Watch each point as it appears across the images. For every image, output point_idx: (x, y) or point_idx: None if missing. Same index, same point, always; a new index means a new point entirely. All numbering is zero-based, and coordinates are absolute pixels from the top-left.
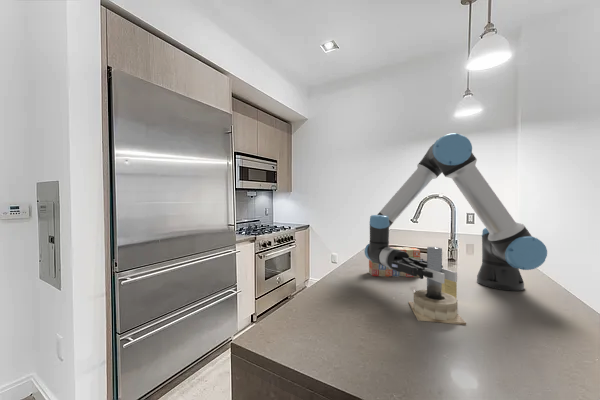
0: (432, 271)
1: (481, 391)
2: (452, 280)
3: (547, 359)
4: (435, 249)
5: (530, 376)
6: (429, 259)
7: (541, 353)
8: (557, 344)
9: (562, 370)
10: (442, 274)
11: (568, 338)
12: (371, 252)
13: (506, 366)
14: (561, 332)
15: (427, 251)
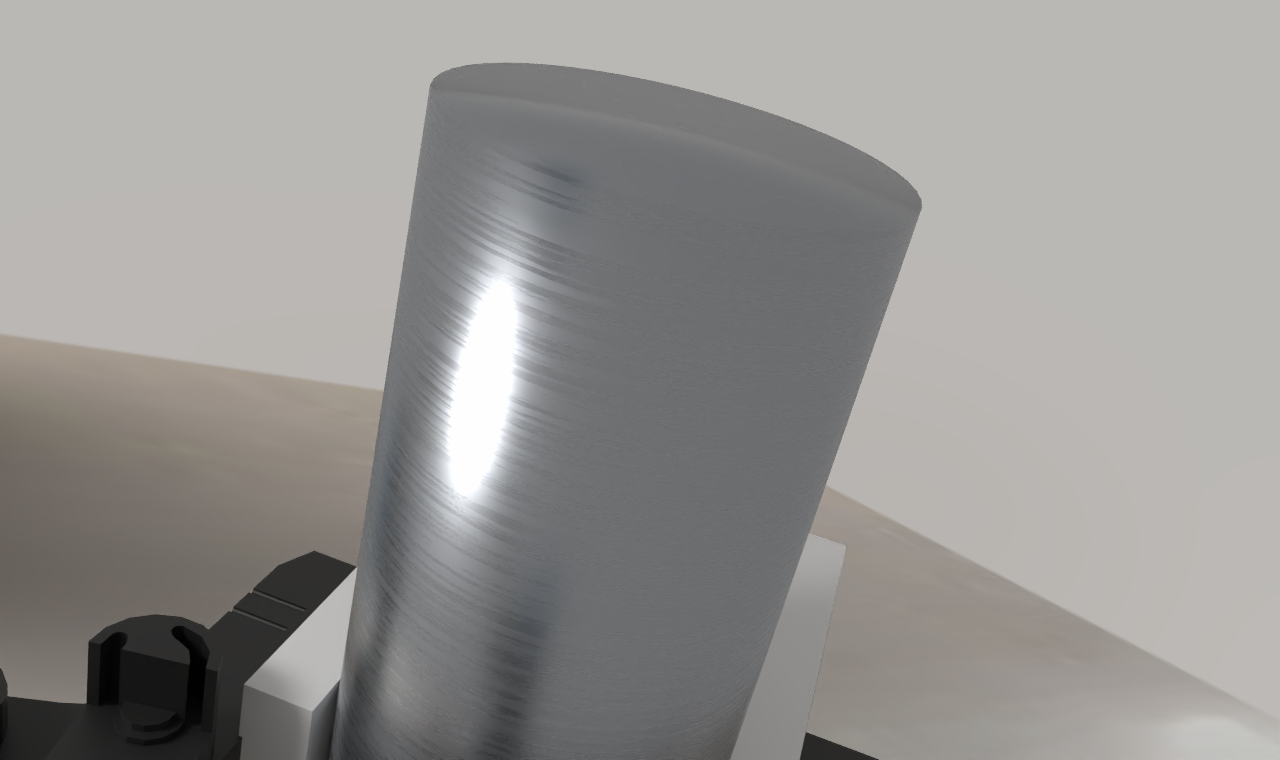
0: (808, 710)
1: (1219, 700)
2: None
3: None
4: (847, 155)
5: (855, 569)
6: (798, 553)
7: None
8: (303, 459)
9: None
10: (843, 554)
11: (135, 412)
12: None
13: (879, 636)
14: (34, 420)
15: (837, 371)
